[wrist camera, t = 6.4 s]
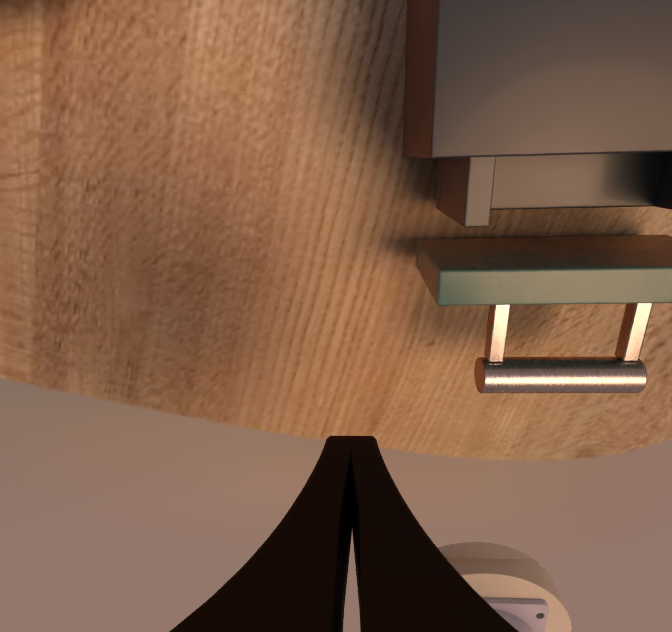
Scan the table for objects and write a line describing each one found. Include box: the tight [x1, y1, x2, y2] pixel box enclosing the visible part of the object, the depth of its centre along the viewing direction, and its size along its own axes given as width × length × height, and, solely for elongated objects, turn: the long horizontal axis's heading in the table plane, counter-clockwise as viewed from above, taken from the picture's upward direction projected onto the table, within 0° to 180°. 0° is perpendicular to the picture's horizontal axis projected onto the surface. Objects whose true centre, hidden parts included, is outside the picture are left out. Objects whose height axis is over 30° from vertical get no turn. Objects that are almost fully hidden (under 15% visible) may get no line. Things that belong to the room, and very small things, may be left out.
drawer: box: [416, 152, 672, 393], centre depth 14 cm, size 17×10×5 cm, turn 1°
